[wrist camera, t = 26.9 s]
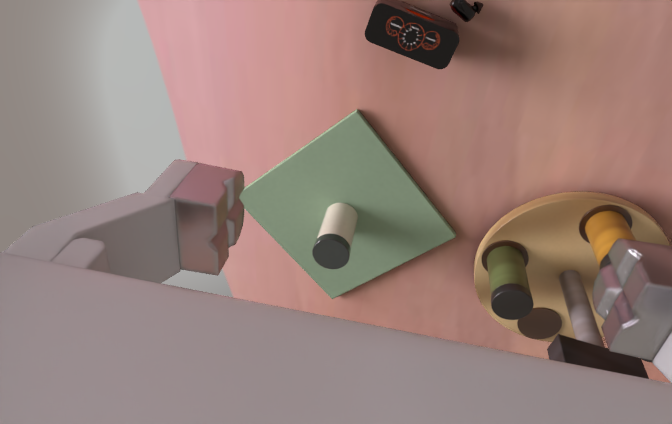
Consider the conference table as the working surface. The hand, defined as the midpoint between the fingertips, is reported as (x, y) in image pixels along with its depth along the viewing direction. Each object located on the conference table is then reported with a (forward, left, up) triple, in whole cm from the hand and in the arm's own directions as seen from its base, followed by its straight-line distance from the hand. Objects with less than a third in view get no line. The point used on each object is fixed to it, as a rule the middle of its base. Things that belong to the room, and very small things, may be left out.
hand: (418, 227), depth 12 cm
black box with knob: (+2, +2, -31) cm, 31 cm away
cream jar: (+18, +12, -30) cm, 37 cm away
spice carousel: (+4, +27, -31) cm, 42 cm away
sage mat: (+18, +12, -31) cm, 38 cm away
